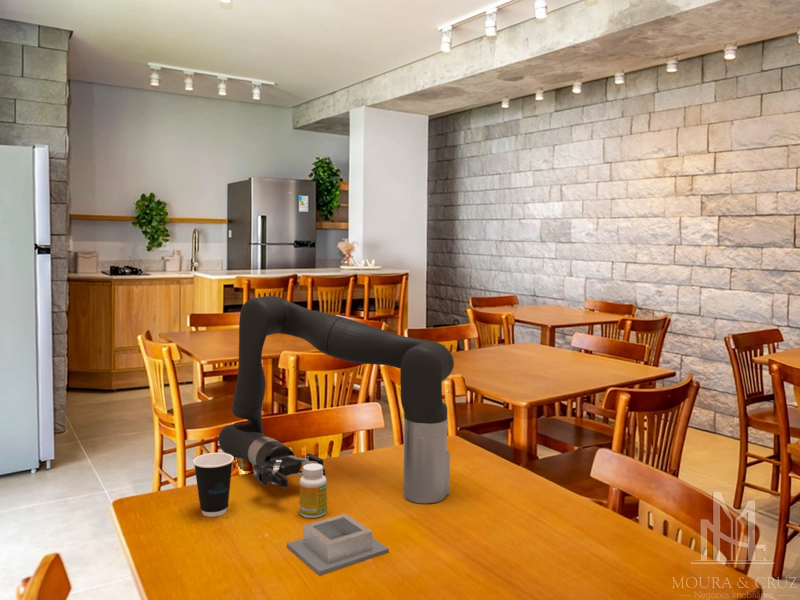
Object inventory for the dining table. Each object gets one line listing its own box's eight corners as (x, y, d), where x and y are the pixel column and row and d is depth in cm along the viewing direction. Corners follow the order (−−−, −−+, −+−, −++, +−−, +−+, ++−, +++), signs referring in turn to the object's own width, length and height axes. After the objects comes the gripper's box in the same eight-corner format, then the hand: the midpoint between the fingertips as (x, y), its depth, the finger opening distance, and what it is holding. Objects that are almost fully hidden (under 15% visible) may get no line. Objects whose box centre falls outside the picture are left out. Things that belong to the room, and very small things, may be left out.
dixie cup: (218, 523, 128) (217, 468, 127) (185, 516, 131) (184, 462, 130) (242, 507, 136) (241, 455, 135) (210, 501, 138) (209, 450, 137)
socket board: (352, 530, 127) (352, 507, 127) (388, 555, 118) (388, 530, 117) (286, 549, 119) (286, 525, 119) (319, 578, 109) (319, 552, 109)
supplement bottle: (321, 520, 130) (321, 472, 129) (295, 517, 131) (295, 470, 130) (330, 508, 135) (330, 463, 134) (305, 506, 137) (304, 460, 135)
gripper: (240, 446, 144) (273, 468, 131) (298, 435, 152) (334, 454, 139) (240, 479, 145) (273, 504, 132) (299, 466, 153) (335, 488, 140)
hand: (305, 478), depth 136 cm, fingers open, 8 cm apart
